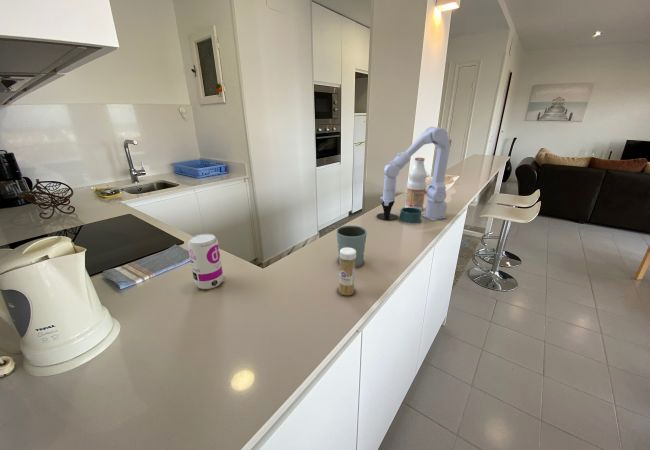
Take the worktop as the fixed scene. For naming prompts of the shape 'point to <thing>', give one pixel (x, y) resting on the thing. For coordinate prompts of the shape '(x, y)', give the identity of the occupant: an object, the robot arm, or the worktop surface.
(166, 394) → the worktop surface
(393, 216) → the lid
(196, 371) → the worktop surface
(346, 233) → the grey green cup
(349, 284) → the sprinkles bottle
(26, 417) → the worktop surface
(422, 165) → the fruit juice
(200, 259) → the supplement can
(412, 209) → the pot
